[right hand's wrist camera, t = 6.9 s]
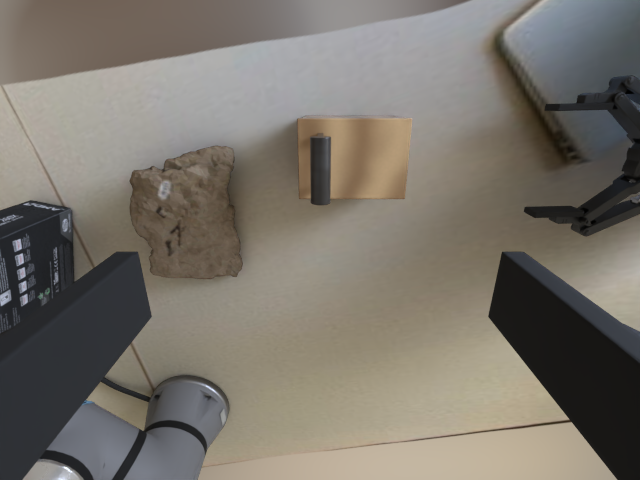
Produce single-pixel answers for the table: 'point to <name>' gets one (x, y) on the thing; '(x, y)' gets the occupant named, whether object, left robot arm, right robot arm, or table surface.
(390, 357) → the table surface
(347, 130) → the lid
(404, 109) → the table surface
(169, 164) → the stone
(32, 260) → the graphics card box
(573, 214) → the left robot arm
